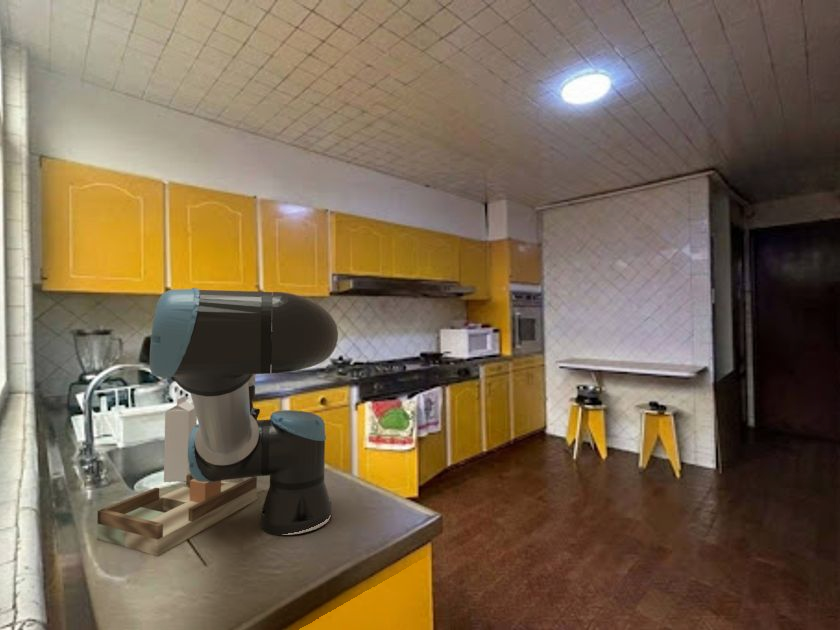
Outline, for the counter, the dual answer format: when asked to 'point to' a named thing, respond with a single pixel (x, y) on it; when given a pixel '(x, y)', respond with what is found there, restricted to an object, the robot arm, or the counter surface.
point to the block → (203, 490)
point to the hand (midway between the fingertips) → (236, 481)
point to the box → (169, 516)
